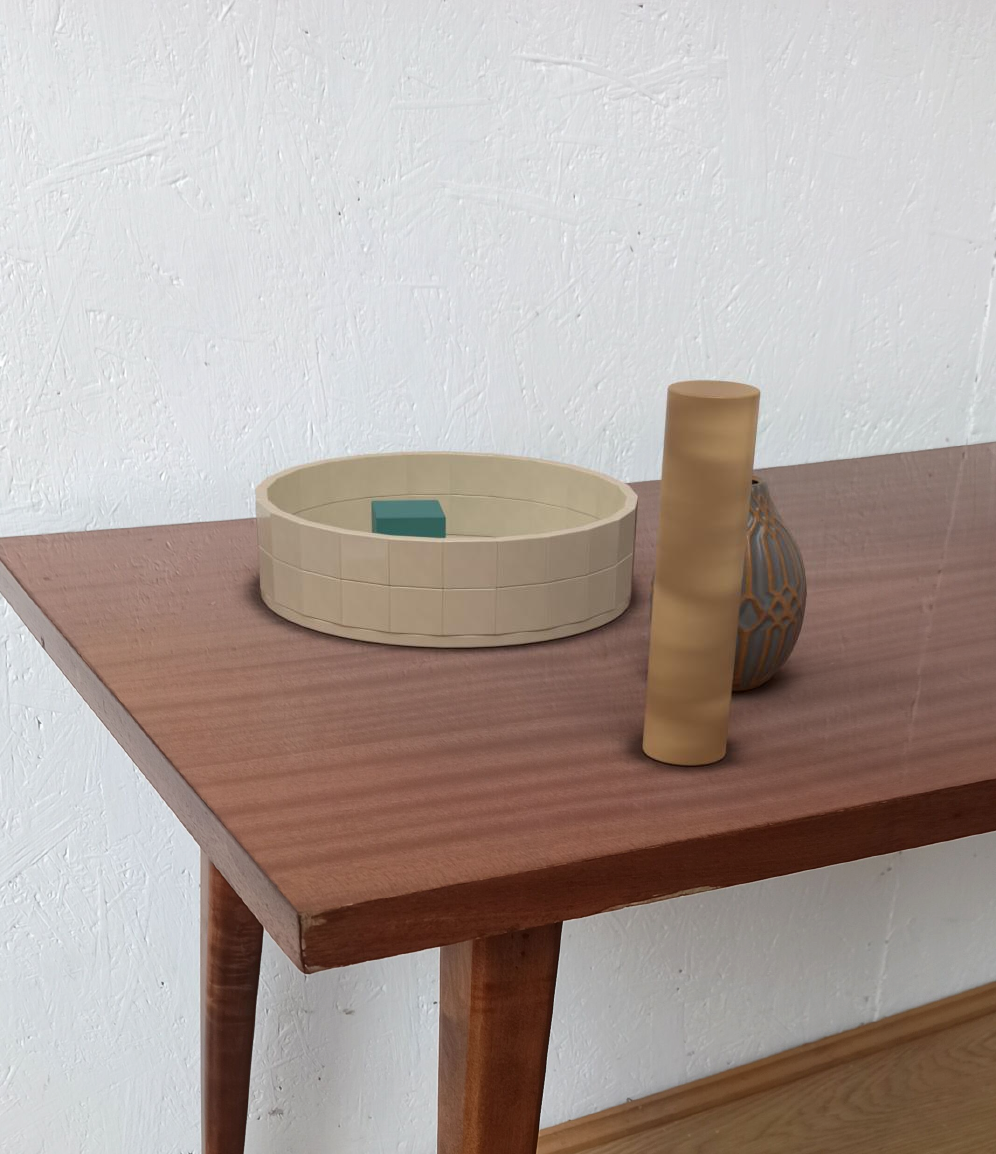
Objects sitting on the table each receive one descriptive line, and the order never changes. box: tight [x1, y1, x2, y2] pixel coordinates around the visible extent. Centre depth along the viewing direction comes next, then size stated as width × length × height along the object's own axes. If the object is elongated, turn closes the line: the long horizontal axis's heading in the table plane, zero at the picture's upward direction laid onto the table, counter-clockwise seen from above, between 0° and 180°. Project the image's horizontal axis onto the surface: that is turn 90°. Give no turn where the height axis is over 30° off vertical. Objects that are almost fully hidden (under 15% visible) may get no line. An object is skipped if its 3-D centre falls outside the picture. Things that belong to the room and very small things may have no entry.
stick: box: [642, 379, 761, 767], centre depth 67 cm, size 3×3×14 cm
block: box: [371, 500, 446, 538], centre depth 88 cm, size 4×4×4 cm
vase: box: [649, 474, 808, 692], centre depth 76 cm, size 7×7×9 cm
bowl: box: [254, 450, 639, 649], centre depth 88 cm, size 19×19×5 cm
